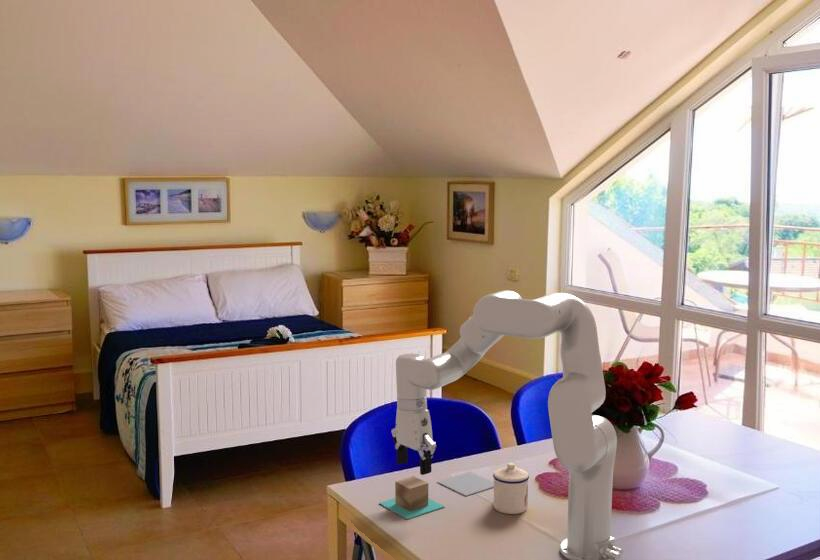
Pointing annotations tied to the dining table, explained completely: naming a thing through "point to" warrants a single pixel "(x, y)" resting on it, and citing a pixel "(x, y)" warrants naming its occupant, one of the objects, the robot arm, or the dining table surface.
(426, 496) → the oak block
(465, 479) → the grey mat
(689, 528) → the dining table surface
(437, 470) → the dining table surface
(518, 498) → the teacup with lid
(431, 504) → the teal mat
